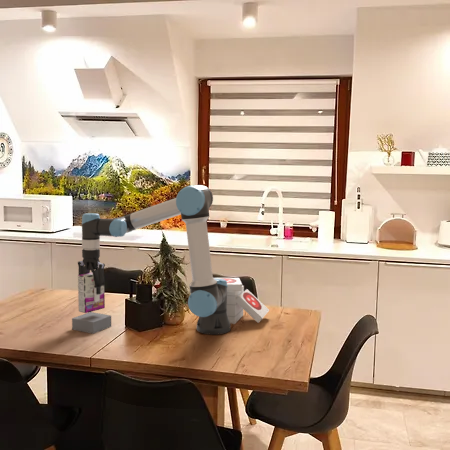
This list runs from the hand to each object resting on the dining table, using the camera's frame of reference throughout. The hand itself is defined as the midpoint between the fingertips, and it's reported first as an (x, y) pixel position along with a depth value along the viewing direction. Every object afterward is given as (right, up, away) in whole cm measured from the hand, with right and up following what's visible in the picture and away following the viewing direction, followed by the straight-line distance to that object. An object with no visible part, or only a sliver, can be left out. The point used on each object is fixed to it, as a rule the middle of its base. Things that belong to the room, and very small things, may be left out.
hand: (91, 300), depth 235 cm
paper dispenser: (+64, -12, +19) cm, 68 cm away
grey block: (0, -12, +1) cm, 13 cm away
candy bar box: (0, -5, +1) cm, 5 cm away
